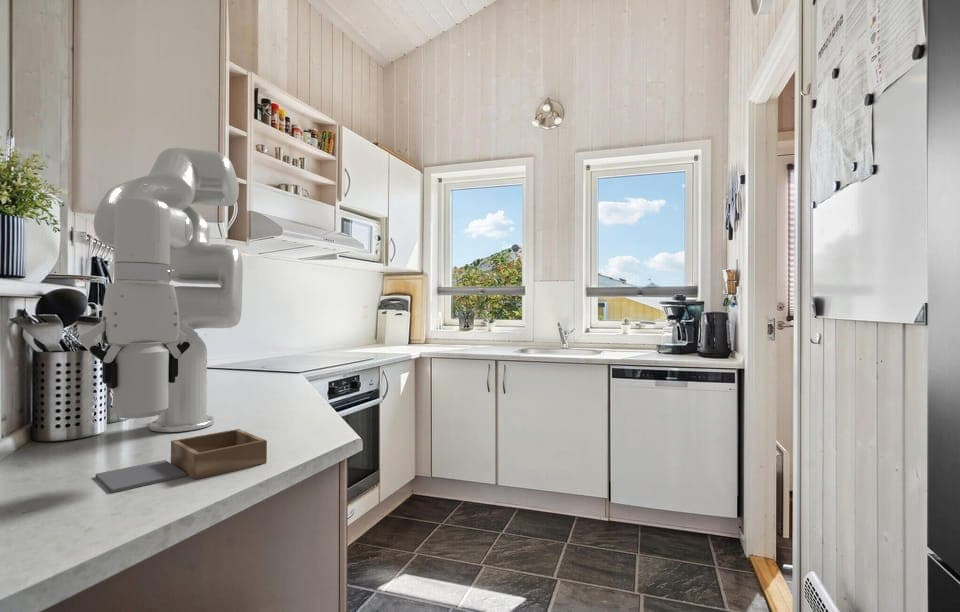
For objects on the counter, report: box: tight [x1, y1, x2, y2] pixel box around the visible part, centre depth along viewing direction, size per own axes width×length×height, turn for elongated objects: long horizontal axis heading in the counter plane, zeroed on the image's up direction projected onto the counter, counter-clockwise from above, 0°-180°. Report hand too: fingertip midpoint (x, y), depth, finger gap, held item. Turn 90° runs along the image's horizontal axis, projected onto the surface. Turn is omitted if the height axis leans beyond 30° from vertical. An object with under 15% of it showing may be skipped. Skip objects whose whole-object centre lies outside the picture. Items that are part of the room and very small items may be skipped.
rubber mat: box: [95, 459, 187, 494], centre depth 82 cm, size 10×10×1 cm
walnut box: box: [170, 428, 268, 480], centre depth 90 cm, size 12×12×4 cm
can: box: [112, 342, 169, 420], centre depth 82 cm, size 8×8×12 cm
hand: (141, 384), depth 82 cm, fingers closed on can, 7 cm apart
